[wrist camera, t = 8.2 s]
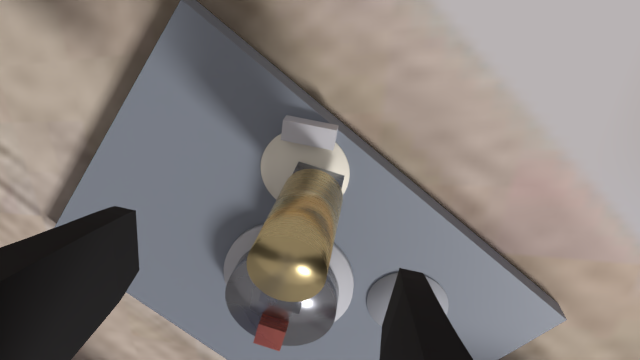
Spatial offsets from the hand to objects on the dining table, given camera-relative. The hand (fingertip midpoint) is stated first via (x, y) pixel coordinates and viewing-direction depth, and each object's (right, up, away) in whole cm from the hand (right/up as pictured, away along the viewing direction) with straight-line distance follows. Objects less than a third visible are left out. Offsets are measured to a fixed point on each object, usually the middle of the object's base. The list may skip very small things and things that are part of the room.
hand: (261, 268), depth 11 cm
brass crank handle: (+1, -1, +6) cm, 6 cm away
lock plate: (0, -2, +9) cm, 9 cm away
